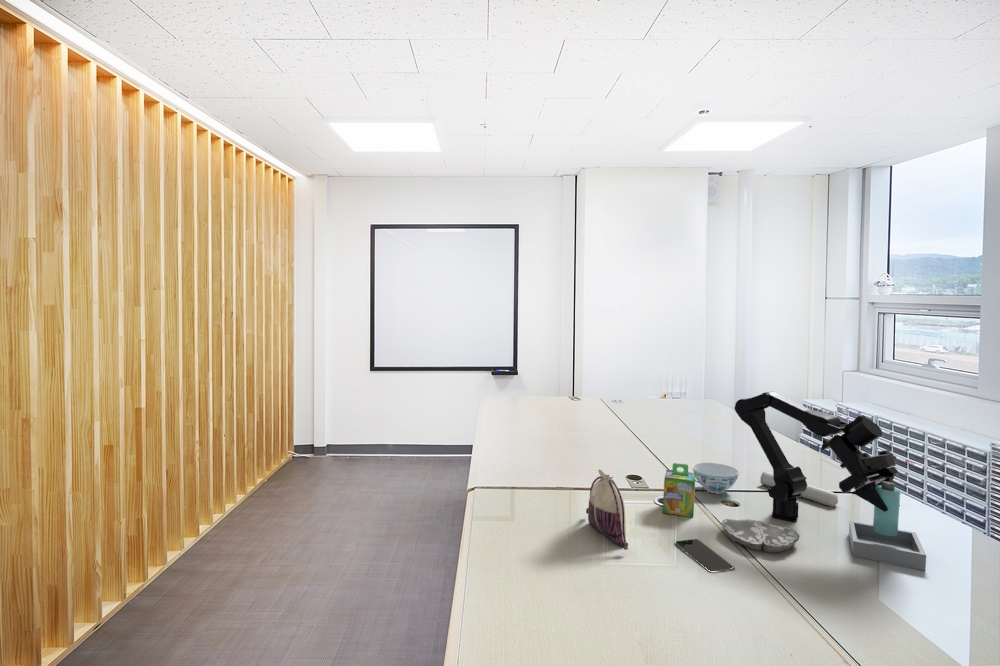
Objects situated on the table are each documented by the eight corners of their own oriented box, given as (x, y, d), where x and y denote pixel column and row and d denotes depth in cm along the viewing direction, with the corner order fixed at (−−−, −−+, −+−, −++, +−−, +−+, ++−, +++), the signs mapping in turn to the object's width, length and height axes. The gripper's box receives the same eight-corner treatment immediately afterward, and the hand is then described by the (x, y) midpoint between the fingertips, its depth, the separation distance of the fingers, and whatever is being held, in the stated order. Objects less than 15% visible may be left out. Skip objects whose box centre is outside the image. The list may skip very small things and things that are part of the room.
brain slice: (723, 550, 141) (723, 539, 140) (720, 525, 157) (720, 515, 156) (806, 563, 134) (807, 551, 134) (794, 535, 150) (794, 525, 150)
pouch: (571, 520, 159) (572, 458, 158) (594, 516, 162) (595, 455, 161) (619, 557, 136) (621, 485, 135) (645, 551, 139) (647, 481, 138)
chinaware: (698, 480, 195) (699, 460, 195) (742, 489, 187) (743, 467, 186) (686, 492, 183) (687, 470, 183) (732, 502, 174) (733, 479, 174)
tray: (852, 555, 137) (853, 540, 137) (848, 534, 150) (849, 520, 150) (925, 571, 130) (926, 555, 130) (914, 546, 143) (915, 532, 142)
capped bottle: (880, 535, 135) (883, 486, 134) (868, 526, 140) (871, 479, 140) (902, 536, 135) (905, 487, 134) (889, 527, 140) (892, 480, 139)
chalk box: (662, 513, 164) (663, 467, 164) (665, 503, 173) (666, 459, 172) (694, 518, 161) (695, 470, 160) (694, 507, 169) (696, 462, 169)
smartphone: (710, 571, 128) (673, 541, 144) (710, 575, 128) (673, 545, 144) (736, 567, 130) (697, 538, 145) (736, 572, 130) (697, 542, 145)
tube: (842, 494, 172) (770, 472, 193) (834, 492, 169) (762, 469, 190) (839, 510, 171) (766, 486, 193) (831, 508, 168) (758, 484, 190)
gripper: (853, 444, 135) (899, 501, 126) (892, 436, 144) (938, 489, 135) (821, 465, 143) (862, 520, 134) (860, 456, 151) (901, 507, 142)
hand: (892, 509), depth 136 cm, fingers closed on capped bottle, 5 cm apart
